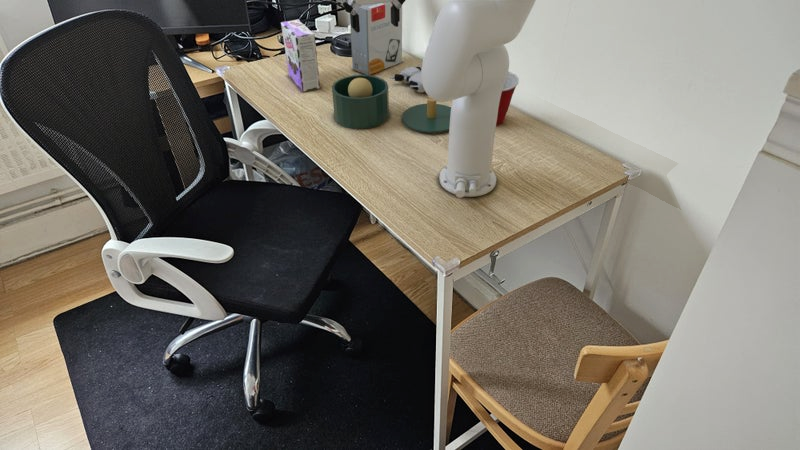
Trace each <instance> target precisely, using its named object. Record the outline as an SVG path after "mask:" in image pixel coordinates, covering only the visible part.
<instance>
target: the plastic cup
mask: <svg viewBox="0 0 800 450" xmlns="http://www.w3.org/2000/svg"><path fill="white" fill-rule="evenodd" d="M519 83H520V80H519V77H518V75H517V74H515V73H513V72H511V71H508V75H507V78H506V81H505V84H504V87H503V90H502V93H501V97H500V102H499V108H498V115H497V122H496V127H497V126H498V127H499V126H501V125H503V124H504V122H505V119H506V116H507V114H508V111H509V108H510V105H511V102H512V98H513V96H514V93H515V90H516V88H517V86H518V85H519Z"/></svg>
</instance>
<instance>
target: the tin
mask: <svg viewBox="0 0 800 450" xmlns="http://www.w3.org/2000/svg"><path fill="white" fill-rule="evenodd" d="M356 78H364V79H367V80H368V81H369V82H370V83H371V85H372V89H373V91H372V95H371V96H370V97H363V98H354V97H350V96H349V93H348V87H349V84H350V83H351V81H352V80H354V79H356ZM331 94H332V104H333V105H332V106H333V114H334V120H335V121H336V123H337V124H339V125H340V126H342V127H345V128H348V129H354V130H365V129H366V130H367V129H372V128H376V127H378V126H381V125H383V124H384V123H386V122H387V120H388V119H389V116H390V101H389V100H390V99H389V84H388V82H387V81H386V80H385V79H384V78H382V77H378V76H375V75H372V74H371V75H366V74H353V75H349V76H345V77H341V78H339V79H337V80H336V81H335V82H333V84H332V85H331Z"/></svg>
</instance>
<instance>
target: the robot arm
mask: <svg viewBox="0 0 800 450" xmlns="http://www.w3.org/2000/svg"><path fill="white" fill-rule="evenodd" d="M338 1H339V3H340V4H341V6H342V7H343V8H344V9H345V10H346V11H347V12H348V13H349V21H350V20H351V25H350V28H351V27H352V28H353V29H354V30H355V31H356V32H357V33H358V32H360V25H359V15H358V14H357V12H358V10H359V8H360V7H361V5H370V4H378V3H386V2H391V3H392V6H391V24H393V25H394V26H395V27H398V22H399V21H400V8H401V7H402V8H403V5H404V3H405V2H406V0H352V1H351V2H350V4H349V2H348V1H347V0H338ZM536 1H537V0H449V1H447V3H445V4H444V6H443V7H442V8H441V10H440V11H439V13H438V15H437V17H436V19H435V20H436V21H435V22H434V25H433V27H432V32H431V34H430V38H429V40H428V44H427V47H426V50H425V53H424V56H423V60H422V63H421V67H420V68H421V80H422V85H423V88H424V90H425V92H424V93H425V94H426V95H427V96H428V98H432V99H433V100H435V101H437V102H440V103H446V102H447V103H448V102H450V101H452V102H451V106H450V107H451V113H450V127H449V130H448V143H447V144H448V145H447V161H446V162H447V163H446V166H444V167H443V168H442V169H441V170H440V172H439V177H438V178H439V184H440V185H441V187H442V188H443V189H444V190H446V191H447V192H449V193H451V194H453V195H455V196H456V197H457V198H460V199H461V198H464V197H468V198H469V197H470V198H471V197H473V198H475V197H479V196H483V195H486V194H489V193H490V192H491V191H493V190H494V188H495V187H496V185H497V175H496V173H495V172H494V171H493V170H492V169H491V168H492V160H493V152H494V144H495V137H496V131H497V130H496V129H497V126H496V122H497V115H498V108H499V102H500V97H501V93H502V90H503V87H504V84H505V81H506V78H507V75H508V72H509V70H510V56H509V52H508V50H507V47H506V46H505V45H506V44H509V43H511V42H512V41H514V40H515V39H517V37H518V36H519V34H520V33H521V31H522V30H523V27H524V25H525V23H526V21H527V19H528V17H529V15H530V14H531V11H532V9H533V7H534V5H535V3H536Z"/></svg>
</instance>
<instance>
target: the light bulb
mask: <svg viewBox="0 0 800 450" xmlns="http://www.w3.org/2000/svg"><path fill="white" fill-rule="evenodd" d="M372 91H373V89H372V85H371V83H370V82H369V81H368V80H367V79H364V78H356V79H354V80H352V81H351V83H350V84H349V87H348V93H349V96H350V97H354V98H363V97H370V96H371V95H372Z"/></svg>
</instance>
